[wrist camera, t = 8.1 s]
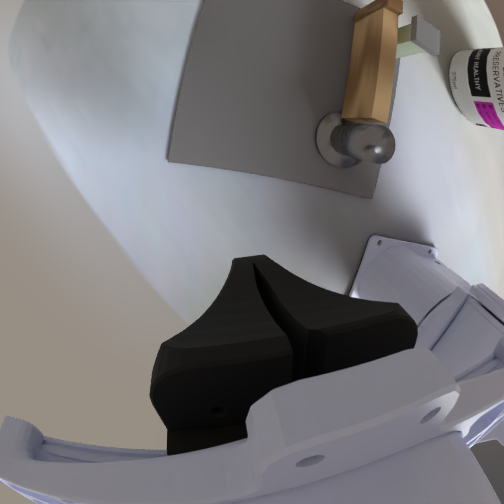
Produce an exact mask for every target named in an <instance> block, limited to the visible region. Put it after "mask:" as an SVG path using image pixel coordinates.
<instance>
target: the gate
mask: <svg viewBox="0 0 504 504" xmlns="http://www.w3.org/2000/svg"><path fill="white" fill-rule="evenodd" d="M402 13H403V1H401V0H375V1H373V2H372V3H370V4H368V5H367V6H365V7H363V8H362V9H360V10H358V11H357V12H355V14H354V24H355V25H354V34H353V43H352V51H351V58H350V66H349V73H348V80H347V86H346V93H345V99H344V105H343V111H342V117H341V118H343V119H346V120H349V121H352V122H361V123H386V124H387V121H388V115H389V109H390V102H391V95H392V87H393V79H394V70H395V60H396V49H397V34H398V15H400V14H402Z"/></svg>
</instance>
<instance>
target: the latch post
mask: <svg viewBox="0 0 504 504" xmlns="http://www.w3.org/2000/svg"><path fill="white" fill-rule="evenodd" d="M423 52H428V53H430V54H431V55H433V56H440V31H439V30H438V29H437V28H435V27H434V26H432V25H431V24H430V23H428V22H427V21H425V20H424V19H422V18H421V17H419V16H418V15H416V16H414V17H412V24H409V25H406V26H403V27H400V28H398V34H397V49H396V58H400V57H405V56H409V55H414V54H418V53H423Z"/></svg>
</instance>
